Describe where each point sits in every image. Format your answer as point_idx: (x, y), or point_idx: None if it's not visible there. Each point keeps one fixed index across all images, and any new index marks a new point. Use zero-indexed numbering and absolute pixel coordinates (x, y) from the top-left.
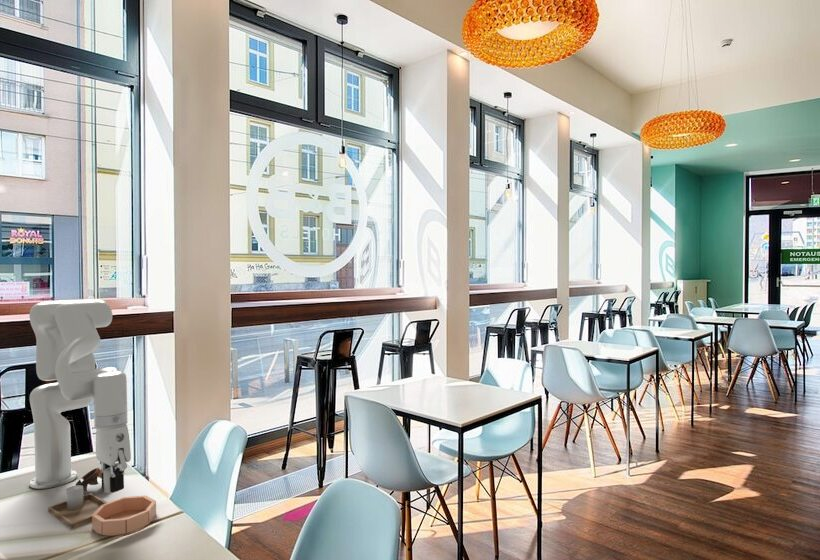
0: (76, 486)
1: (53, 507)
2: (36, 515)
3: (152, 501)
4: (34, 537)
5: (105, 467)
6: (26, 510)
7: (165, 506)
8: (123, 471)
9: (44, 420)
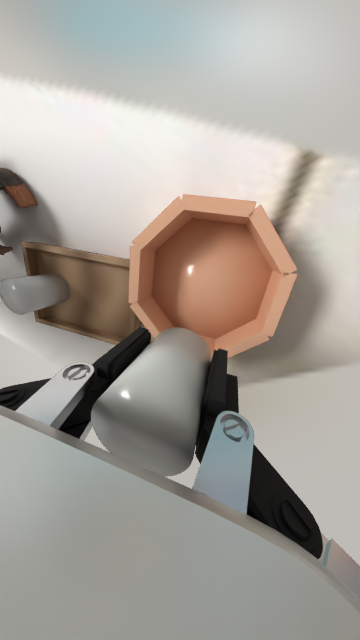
0: (5, 288)
1: (40, 314)
2: (42, 327)
3: (247, 213)
4: None
5: (76, 421)
6: (15, 322)
7: (224, 150)
8: (286, 486)
9: None
